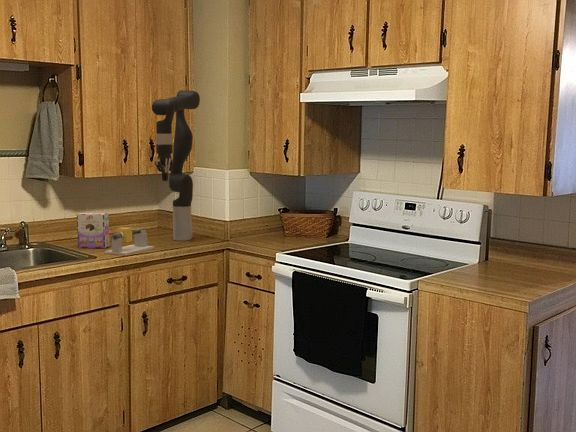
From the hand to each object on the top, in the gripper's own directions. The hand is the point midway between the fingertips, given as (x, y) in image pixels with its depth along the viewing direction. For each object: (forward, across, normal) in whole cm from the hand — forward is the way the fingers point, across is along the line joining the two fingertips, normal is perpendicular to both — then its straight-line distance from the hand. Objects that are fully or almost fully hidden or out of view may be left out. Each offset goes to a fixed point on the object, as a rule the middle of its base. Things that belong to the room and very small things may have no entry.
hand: (165, 180), depth 322 cm
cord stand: (+32, +13, -11) cm, 36 cm away
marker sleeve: (+27, +16, -11) cm, 33 cm away
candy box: (+32, +14, -32) cm, 48 cm away
